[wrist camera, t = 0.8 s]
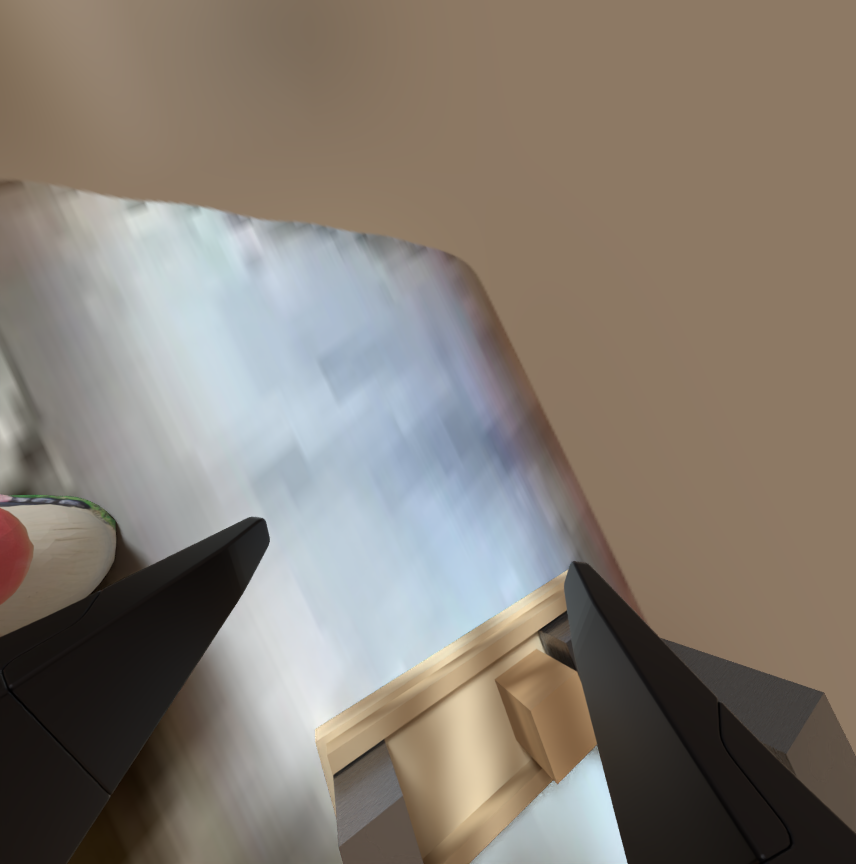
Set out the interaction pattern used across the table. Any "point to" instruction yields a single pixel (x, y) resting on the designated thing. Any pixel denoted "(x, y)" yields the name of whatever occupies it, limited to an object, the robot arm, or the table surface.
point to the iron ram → (764, 717)
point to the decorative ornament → (50, 555)
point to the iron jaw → (373, 812)
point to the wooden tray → (453, 733)
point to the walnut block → (547, 712)
